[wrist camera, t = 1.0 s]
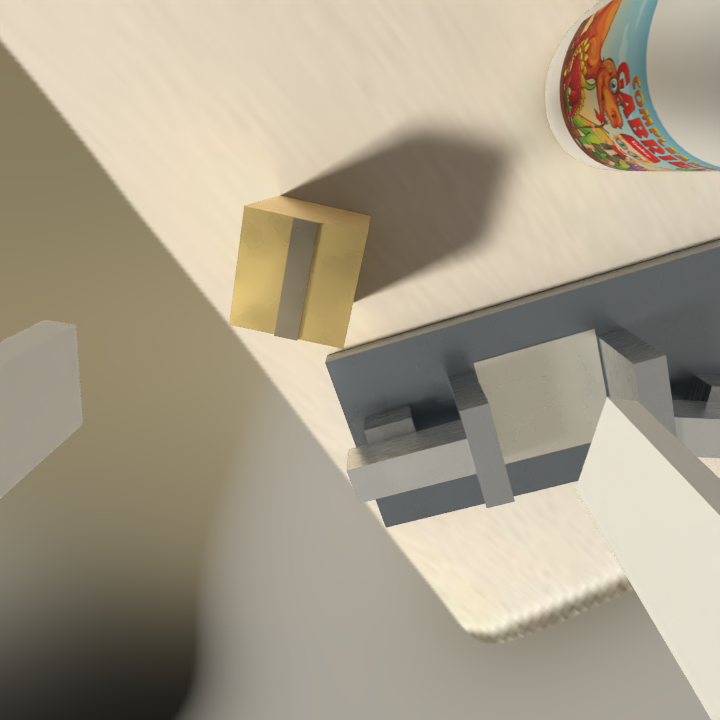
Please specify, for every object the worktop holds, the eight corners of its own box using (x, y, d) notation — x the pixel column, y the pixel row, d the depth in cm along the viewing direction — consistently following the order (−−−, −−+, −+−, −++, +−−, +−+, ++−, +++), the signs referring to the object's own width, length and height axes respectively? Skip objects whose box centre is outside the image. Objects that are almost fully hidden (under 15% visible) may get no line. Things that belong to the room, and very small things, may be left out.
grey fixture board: (325, 355, 31) (314, 394, 26) (730, 236, 28) (811, 252, 23) (384, 516, 35) (385, 577, 30) (745, 426, 32) (818, 478, 27)
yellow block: (280, 195, 28) (243, 206, 20) (370, 215, 28) (368, 233, 21) (266, 284, 30) (227, 325, 22) (352, 303, 30) (342, 350, 22)
